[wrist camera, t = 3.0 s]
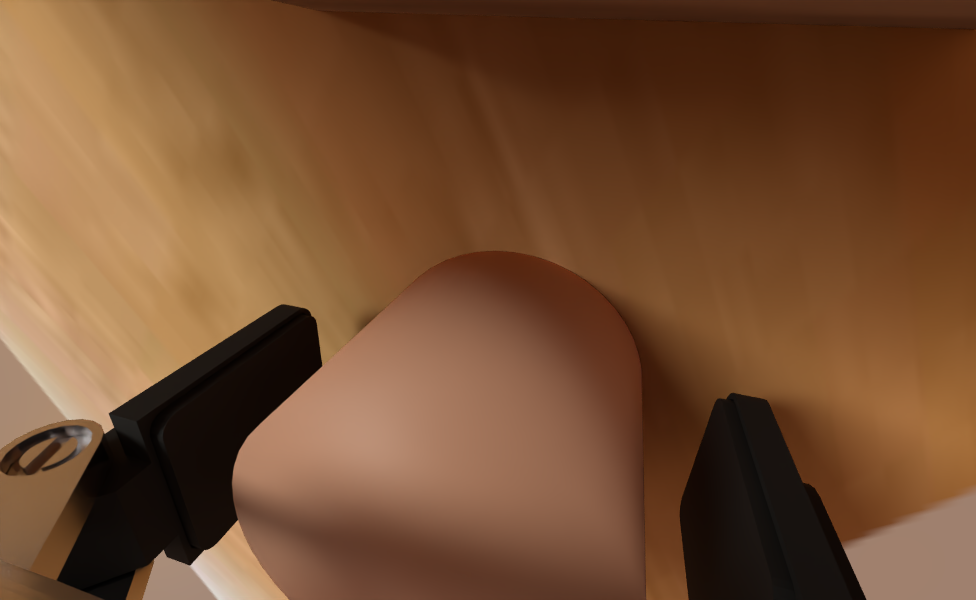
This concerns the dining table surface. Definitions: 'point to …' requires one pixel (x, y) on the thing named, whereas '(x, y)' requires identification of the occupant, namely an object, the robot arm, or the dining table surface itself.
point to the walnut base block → (690, 10)
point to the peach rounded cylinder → (460, 448)
